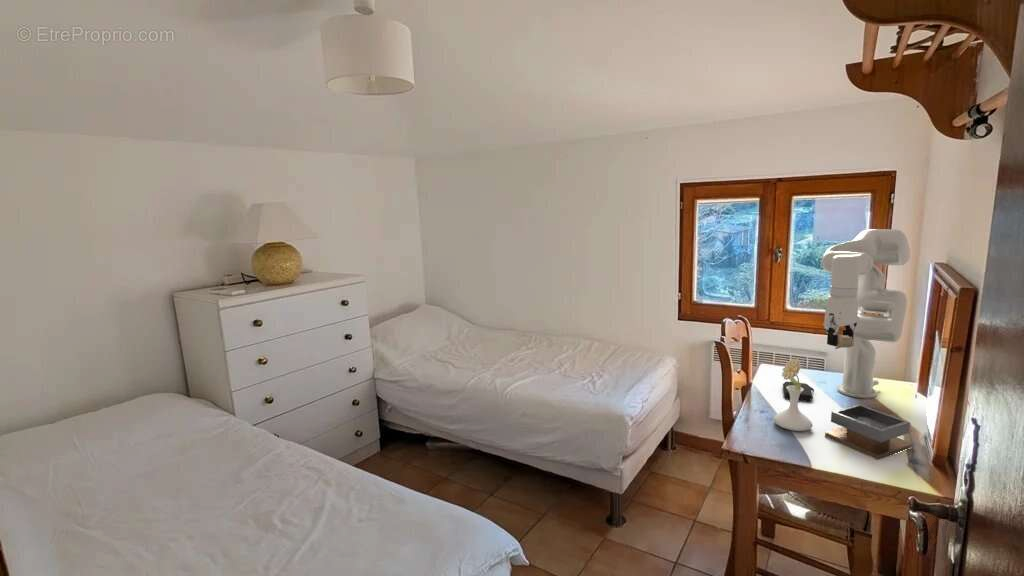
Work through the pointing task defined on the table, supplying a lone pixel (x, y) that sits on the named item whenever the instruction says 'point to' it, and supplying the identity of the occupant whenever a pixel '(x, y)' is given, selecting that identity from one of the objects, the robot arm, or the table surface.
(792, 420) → the flower in vase
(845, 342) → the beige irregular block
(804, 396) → the carrying case or bag
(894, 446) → the tray stand
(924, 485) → the table surface
